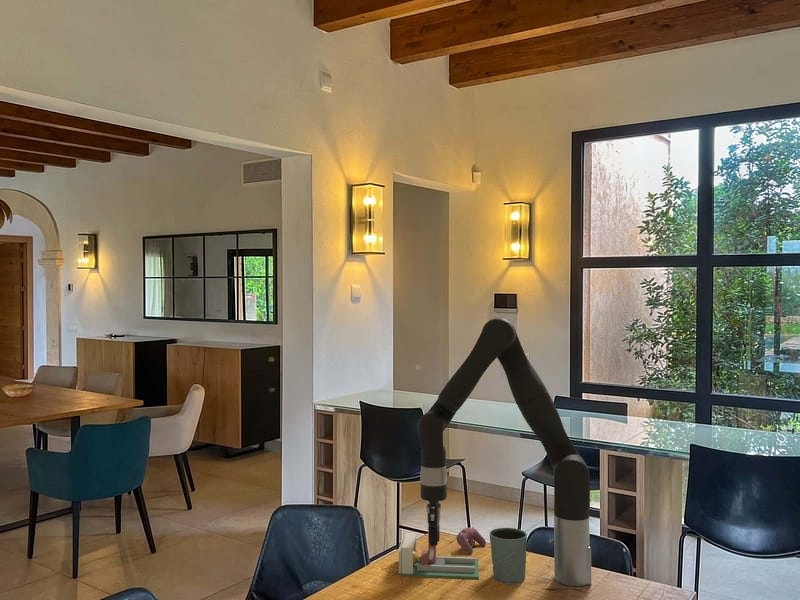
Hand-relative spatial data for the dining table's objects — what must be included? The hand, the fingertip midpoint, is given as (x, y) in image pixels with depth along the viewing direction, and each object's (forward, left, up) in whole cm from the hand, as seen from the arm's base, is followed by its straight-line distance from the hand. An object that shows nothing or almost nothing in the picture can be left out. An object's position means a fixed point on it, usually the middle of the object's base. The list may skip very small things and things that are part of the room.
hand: (434, 542), depth 186 cm
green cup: (-20, +4, -7) cm, 22 cm away
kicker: (0, 0, -7) cm, 7 cm away
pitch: (-1, 0, -7) cm, 7 cm away
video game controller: (-10, -17, -7) cm, 21 cm away
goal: (+7, 0, -7) cm, 10 cm away
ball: (+7, 0, -5) cm, 8 cm away
